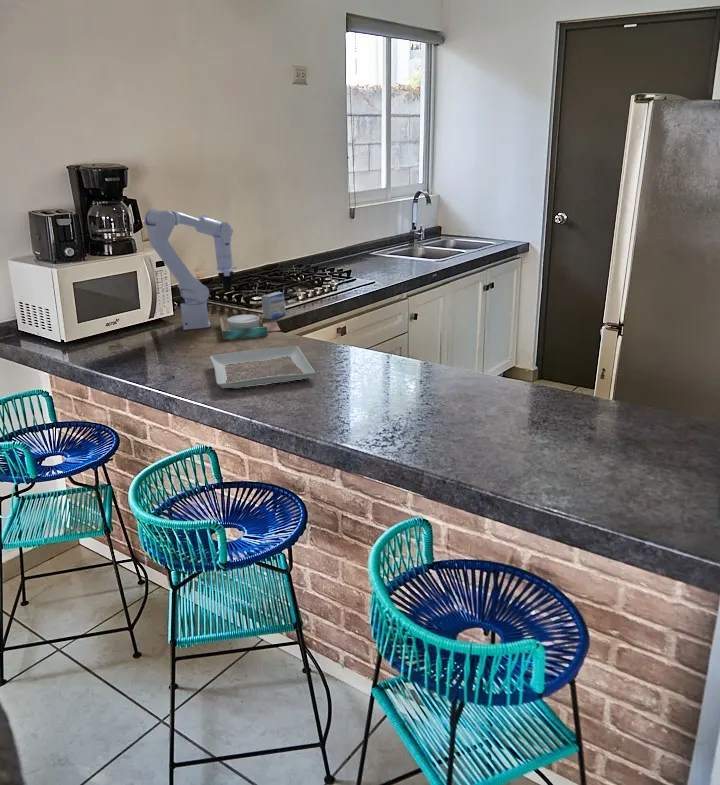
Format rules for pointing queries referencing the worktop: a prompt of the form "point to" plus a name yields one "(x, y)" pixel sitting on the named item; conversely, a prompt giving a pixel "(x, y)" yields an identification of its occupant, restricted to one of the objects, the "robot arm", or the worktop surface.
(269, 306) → the medicine box
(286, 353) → the square plate
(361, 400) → the worktop surface
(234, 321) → the ramekin
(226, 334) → the lane
